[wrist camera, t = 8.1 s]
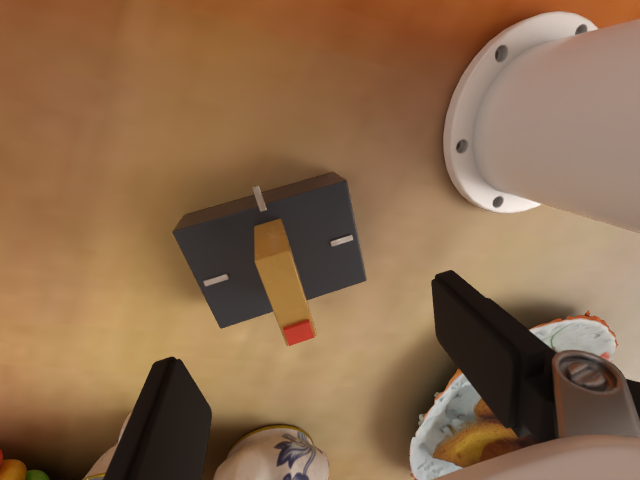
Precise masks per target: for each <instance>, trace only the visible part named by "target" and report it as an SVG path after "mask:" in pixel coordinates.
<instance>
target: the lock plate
mask: <svg viewBox="0 0 640 480" xmlns="http://www.w3.org/2000/svg"><path fill="white" fill-rule="evenodd" d="M252 189H253V192H254V195H252V196H248V197H245V198H241V199H238V200H234V201H231V202H227V203H224V204H221V205H217V206H214V207H210V208H207V209H203V210H200V211H196V212H193V213H189V214H186V215H184V216H183V217H182V219H181V220H180V222H179V223H178V224H177V226H176V227H175V229H174V230H173V234H174V236H175V238H176V240H177V242H178V244H179V246H180V248H181V250H182V252H183V254H184V256H185V258H186V260H187V262H188V264H189V266H190V268H191V270H192V272H193V274H194V277H195V279H196V281H197V283H198V285H199V287H200V289H201V291H202V293H203V295H204V297H205V299H206V301H207V303H208V305H209V307H210V309H211V311H212V313H213V315H214V317H215V319H216V321H217V323H218V325H219V327H220V328H224V327H227V326H230V325H234V324H237V323H240V322H243V321H246V320H249V319H252V318H255V317H258V316H261V315H264V314H267V313H270V312H273V309H272V306H271V303H270V301H269V298H268V296H267V293H266V290H265V288H264V285H263V283H262V280H261V277H260V275H259V272H258V270H257V267H256V264H255V253H254V226H257V225H260V224H263V223H267V222H270V221H273V220H277V219H282V222H283V226H284V229H285V232H286V235H287V238H288V241H289V245H290V248H291V251H292V254H293V257H294V260H295V264H296V267H297V270H298V273H299V276H300V279H301V283H302V286H303V289H304V292H305V296H306V299H307V300H309V299H312V298H315V297H318V296H321V295H324V294H327V293H330V292H333V291H337V290H340V289H343V288H346V287H349V286H352V285H355V284H358V283H361V282H364V281H366V274H365V269H364V264H363V259H362V254H361V249H360V244H359V239H358V234H357V229H356V224H355V219H354V214H353V209H352V204H351V199H350V194H349V189H348V184H347V181H346V180H345V179H343V178H342V177H340V176H339V175H337V174H336V173H335V172H331V173H328V174H324V175H321V176H317V177H314V178H310V179H307V180H303V181H300V182H297V183H293V184H290V185H286V186H283V187H279V188H276V189H272V190H269V191H265V192H262V193H261V191H260V188H259V185H258V186H255V187H252Z"/></svg>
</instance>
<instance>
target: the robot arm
mask: <svg viewBox="0 0 640 480" xmlns="http://www.w3.org/2000/svg"><path fill="white" fill-rule="evenodd" d="M443 153H444V158H445V163H446V168H447V171H448V173H449V176H450V178H451V181H452V183H453V184H454V186H455V187H456V189H457V190H458V191H459V193H460V194H461V195H462V196H463V197H464V198H466V199H467V200H468V201H469V202H470V203H472V204H474V205H476V206H478V207H481V208H483V209H486V210H488V211H491V212H495V213H505V214H510V213H518V212H523V211H526V210H529V209H532V208H535V207H537V206H539V205H541V204H544V205H547V206H551V207H554V208H557V209H561V210H564V211H567V212H571V213H574V214H577V215H581V216H584V217H587V218H591V219H594V220H597V221H601V222H604V223H607V224H610V225H614V226H617V227H620V228H624V229H627V230H630V231H634V232H637V233H640V19H636V20H632V21H628V22H624V23H620V24H616V25H612V26H608V27H604V28H600V29H598V28H597V27H596V26H595V25H594V24H593V23H592V22H591V21H590V20H588V19H586V18H584V17H582V16H580V15H578V14H575V13H569V12H563V11H557V12H549V13H542V14H539V15H536V16H533V17H530V18H527V19H524V20H522V21H520V22H518V23H516V24H514V25H512V26H510V27H508V28H506V29H504V30H503V31H502V32H500V33H499V34H498V35H497V36H495V37H494V38H493V39H491V40H490V41H489V42H488V43H487V44H486V45H485V46H484V47H483V48H482V49H481V51H480V52H479V53H478V54H477V55H476V56H475V57H474V58H473V60H472V61H471V63H470V64H469V66H468V67H467V69H466V70H465V72H464V73H463V75H462V76H461V78H460V81H459V83H458V85H457V87H456V89H455V91H454V93H453V95H452V98H451V101H450V105H449V108H448V111H447V114H446V120H445V127H444V133H443ZM431 284H432V295H433V307H434V319H435V331H436V336H437V339H438V341H439V343H440V344H441V346H442V347H443V348H444V350H445V351H446V352H447V353H448V355H449V356H450V357H451V359H452V360H453V361H454V363H455V364H456V365H457V367H458V368H459V369H460V370H461V372H462V373H463V374H464V376H465V377H466V378H467V380H468V381H469V382H470V384H471V385H472V386H473V387H474V389H475V390H476V391H477V393H478V394H479V395H480V397H481V398H482V399H483V401H484V402H485V403H486V404H487V406H488V407H489V408H490V410H491V411H492V412H493V414H494V415H495V416H496V418H497V419H498V420H499V421H500V423H501V424H502V425H503V426H504V427H505V428H507V429H508V428H511V429H512V430H513V432H514V433H515V434H516V436H517V437H518V438H521V437H524V436H527V435H529V434H532V435H533V436H534V437H535V438H536V440H537V441H538V442H541V443H539V444H536V445H532V446H529V447H525V448H522V449H519V450H516V451H513V452H510V453H507V454H504V455H501V456H498V457H495V458H492V459H489V460H486V461H483V462H480V463H477V464H474V465H471V466H468V467H465V468H463V469H460V470H457V471H454V472H451V473H448V474H446V475H443V476H440V477H437V478H434V479H431V480H640V382H636V381H632V380H628V379H625V377H624V375H623V374H622V372H621V371H620V370H619V369H618V368H617V367H616V366H615V365H614V364H612V363H611V362H609V361H608V360H606V359H605V358H602V357H600V356H598V355H596V354H593V353H590V352H586V351H582V350H564V351H561V352H559V353H556V352H555V351H554V350H553V349H551V348H550V347H549V346H548V345H546V344H545V343H544V342H543V341H542V340H540V339H539V338H538V337H537V336H535V335H534V334H533V333H532V332H531V331H529V330H528V329H527V328H526V327H524V326H523V325H522V324H521V323H520V322H518V321H517V320H516V319H515V318H513V317H512V316H511V315H510V314H509V313H507V312H506V311H505V310H504V309H502V308H501V307H500V306H499V305H498V304H496V303H495V302H494V301H492V300H491V299H489V298H485V297H484V296H483V295H482V294H480V293H479V292H478V291H477V290H476V289H474V288H473V287H472V286H471V285H470V284H468V283H467V282H466V281H465V280H464V279H462V278H461V277H460V276H459V275H458V274H456V273H455V272H454V271H452V270H449V271H446V272H442V273H439V274H436V275H435V279H433V280H432V283H431ZM211 419H212V412H211V408H210V406H209V404H208V403H207V401H206V399H205V398H204V396H203V395H202V393H201V391H200V390H199V388H198V386H197V385H196V383H195V382H194V380H193V378H192V377H191V375H190V373H189V372H188V370H187V369H186V367H185V365H184V364H183V362H182V361H181V360H180V359H176V358H175V357H169V358H166V359H163V360H159V361H156V362H155V363H154V364H153V365H152V368H151V370H150V372H149V375H148V377H147V379H146V381H145V384H144V386H143V388H142V391H141V393H140V395H139V398H138V400H137V402H136V404H135V407H134V409H133V411H132V414H131V416H130V418H129V420H128V423H127V425H126V427H125V430H124V432H123V434H122V437H121V439H120V441H119V443H118V446H117V448H116V450H115V453H114V455H113V457H112V459H111V462H110V464H109V466H108V469H107V471H106V473H105V476H104V478H103V480H201V479H202V473H203V467H204V461H205V455H206V449H207V443H208V437H209V431H210V425H211Z"/></svg>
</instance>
